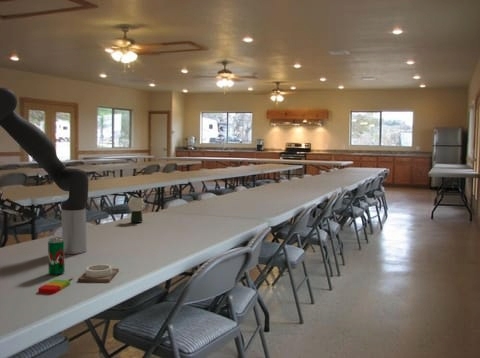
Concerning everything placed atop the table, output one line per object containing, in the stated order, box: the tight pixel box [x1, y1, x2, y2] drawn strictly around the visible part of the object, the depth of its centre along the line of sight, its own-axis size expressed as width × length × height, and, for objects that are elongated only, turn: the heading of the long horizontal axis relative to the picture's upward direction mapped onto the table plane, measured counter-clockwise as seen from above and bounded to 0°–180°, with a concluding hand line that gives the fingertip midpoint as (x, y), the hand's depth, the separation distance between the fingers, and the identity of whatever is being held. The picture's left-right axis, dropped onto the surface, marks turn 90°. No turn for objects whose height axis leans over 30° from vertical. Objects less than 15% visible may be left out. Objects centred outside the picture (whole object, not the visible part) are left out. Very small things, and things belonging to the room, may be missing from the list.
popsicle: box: [37, 276, 74, 295], centre depth 144 cm, size 6×15×2 cm, turn 169°
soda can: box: [47, 236, 66, 276], centre depth 157 cm, size 5×5×12 cm
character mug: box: [127, 197, 146, 223], centre depth 250 cm, size 11×7×13 cm, turn 66°
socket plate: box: [77, 263, 119, 283], centre depth 154 cm, size 12×10×3 cm
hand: (33, 216), depth 154 cm, fingers open, 8 cm apart
